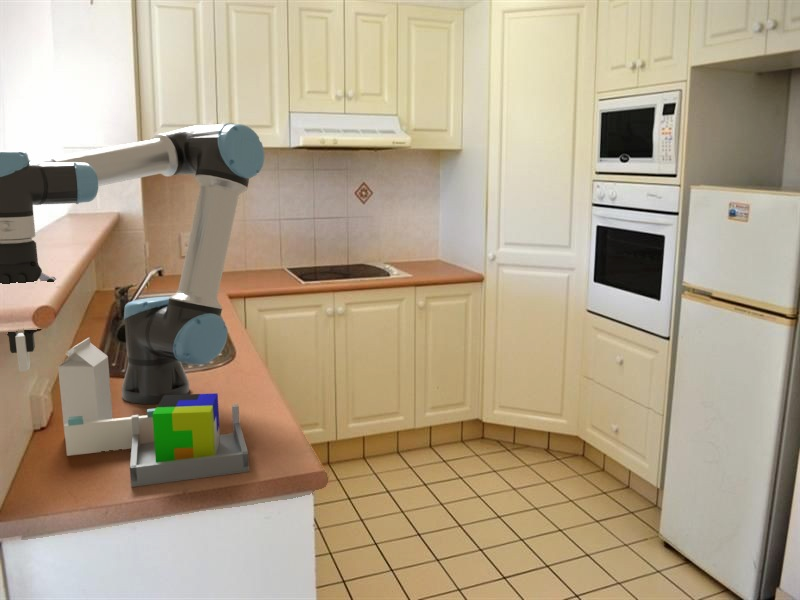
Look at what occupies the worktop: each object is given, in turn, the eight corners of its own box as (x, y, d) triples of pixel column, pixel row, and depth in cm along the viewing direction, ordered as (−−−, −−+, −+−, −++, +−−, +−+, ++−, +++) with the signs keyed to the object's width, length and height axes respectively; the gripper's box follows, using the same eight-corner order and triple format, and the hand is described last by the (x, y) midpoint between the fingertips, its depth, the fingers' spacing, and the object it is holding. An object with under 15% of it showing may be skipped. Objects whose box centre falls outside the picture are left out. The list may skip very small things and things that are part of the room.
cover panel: (67, 453, 135) (64, 417, 134) (166, 441, 141) (164, 407, 139) (66, 456, 134) (63, 420, 133) (166, 444, 140) (164, 409, 138)
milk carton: (113, 424, 150) (106, 337, 146) (99, 438, 143) (92, 347, 139) (80, 424, 150) (72, 337, 146) (64, 437, 143) (55, 346, 139)
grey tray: (134, 449, 137) (131, 415, 136) (239, 437, 143) (238, 404, 142) (131, 487, 122) (128, 449, 120) (249, 471, 128) (247, 435, 127)
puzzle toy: (219, 442, 139) (217, 393, 137) (212, 463, 129) (210, 411, 127) (167, 444, 137) (164, 395, 135) (156, 466, 128) (152, 413, 126)
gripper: (-36, 244, 119) (-21, 378, 124) (49, 241, 123) (61, 372, 128) (-26, 238, 126) (-12, 366, 131) (55, 237, 130) (66, 360, 135)
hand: (24, 369), depth 129 cm, fingers closed
